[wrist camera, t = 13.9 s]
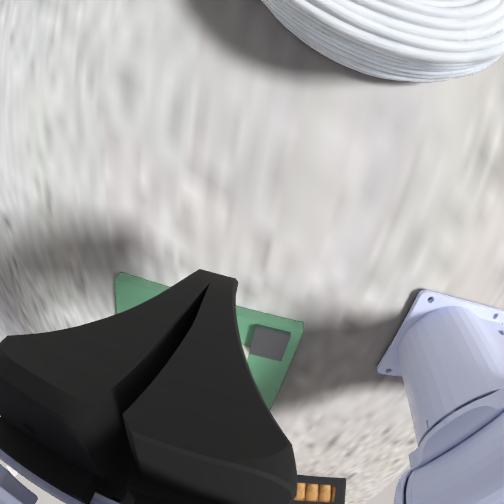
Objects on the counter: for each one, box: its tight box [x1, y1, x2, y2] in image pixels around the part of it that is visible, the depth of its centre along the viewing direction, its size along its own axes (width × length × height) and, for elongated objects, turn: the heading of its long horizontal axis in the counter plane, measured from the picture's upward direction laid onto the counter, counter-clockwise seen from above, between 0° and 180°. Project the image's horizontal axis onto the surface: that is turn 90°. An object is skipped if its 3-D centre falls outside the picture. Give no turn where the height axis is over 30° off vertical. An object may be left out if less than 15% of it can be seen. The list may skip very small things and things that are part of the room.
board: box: [115, 272, 304, 411], centre depth 23 cm, size 14×12×2 cm
